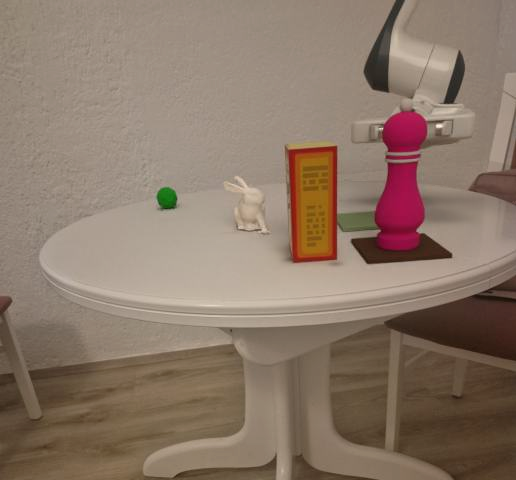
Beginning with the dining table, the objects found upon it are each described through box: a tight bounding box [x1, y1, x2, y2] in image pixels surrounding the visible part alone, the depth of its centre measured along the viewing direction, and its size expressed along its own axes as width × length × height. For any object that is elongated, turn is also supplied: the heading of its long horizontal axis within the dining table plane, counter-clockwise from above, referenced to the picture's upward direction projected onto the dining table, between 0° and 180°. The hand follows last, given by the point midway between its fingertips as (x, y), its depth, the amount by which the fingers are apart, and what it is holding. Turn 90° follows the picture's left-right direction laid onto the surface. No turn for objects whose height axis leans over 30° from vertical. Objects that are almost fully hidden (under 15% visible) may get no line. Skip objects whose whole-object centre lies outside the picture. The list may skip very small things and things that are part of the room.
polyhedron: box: [156, 186, 179, 210], centre depth 116 cm, size 5×5×5 cm
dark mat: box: [350, 232, 453, 265], centre depth 73 cm, size 12×12×1 cm
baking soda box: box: [284, 140, 338, 264], centre depth 72 cm, size 10×6×16 cm
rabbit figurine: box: [222, 175, 270, 235], centre depth 90 cm, size 12×8×10 cm, turn 5°
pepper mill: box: [374, 98, 428, 251], centre depth 69 cm, size 7×7×20 cm
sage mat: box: [337, 210, 380, 233], centre depth 90 cm, size 12×12×1 cm
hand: (409, 131), depth 77 cm, fingers open, 8 cm apart
